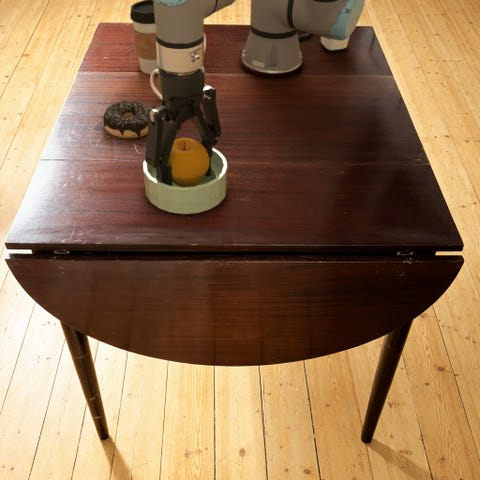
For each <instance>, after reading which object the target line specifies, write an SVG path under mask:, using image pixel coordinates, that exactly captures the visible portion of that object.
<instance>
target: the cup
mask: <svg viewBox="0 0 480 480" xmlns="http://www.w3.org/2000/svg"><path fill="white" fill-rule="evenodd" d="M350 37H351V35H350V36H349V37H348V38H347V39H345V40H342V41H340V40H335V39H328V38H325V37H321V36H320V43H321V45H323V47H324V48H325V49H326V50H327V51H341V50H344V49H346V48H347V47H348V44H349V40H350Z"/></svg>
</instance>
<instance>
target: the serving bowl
mask: <svg viewBox="0 0 480 480" xmlns="http://www.w3.org/2000/svg"><path fill="white" fill-rule="evenodd" d="M142 169H143V170H142V171H143V180H144V189H145V196H146V198H147V199H148V201H149V202H150V204H152V205H154V206H155V207H156V208H158V209H160V210H162V211H165V212H167V213H171V214H173V213H174V214H180V215H191V214H199V213H202V212H206V211H209V210H212V209H213V208H214V207H216V206H218V205H219V204H221V202H222V201H224V199H225V197H226V195H227V191H228V162H227V159H226V157H225V156H224V154H222V152H220V151H219V150H218V149H216V148H214V147H213V155H212V157H211V176H209V177H207V176H206V175H205V176H204V177H203V178H202V179H201V180H200V182H199V183H198V184H197V185H196V186H194V187H180V186H178V185H176V184H175V183H174V182H173V181H172V186H169V185H167V184H164V183H161V182H160V180H158V179H157V177H156V168H154V167H152V166H151V165H149V164H148V163H146V162H145V159H144V160H143V162H142Z"/></svg>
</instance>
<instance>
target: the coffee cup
mask: <svg viewBox="0 0 480 480" xmlns="http://www.w3.org/2000/svg"><path fill="white" fill-rule="evenodd" d="M129 18H130V20H131V21H132V30H133V37H134V42H135V46H136V52H137V56H138V64H139V69H140V71H141V72H142V73H145V74H148V75H151V73H152V72H153V71H154V70H155V69H158V68H159V65H158V64H157V49H156V25H155V15H154V4H153V0H141V1H137V2H135V3H133V4H132V5H131V6H130V12H129ZM154 75H158V73H157V72H155V73H154Z"/></svg>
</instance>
